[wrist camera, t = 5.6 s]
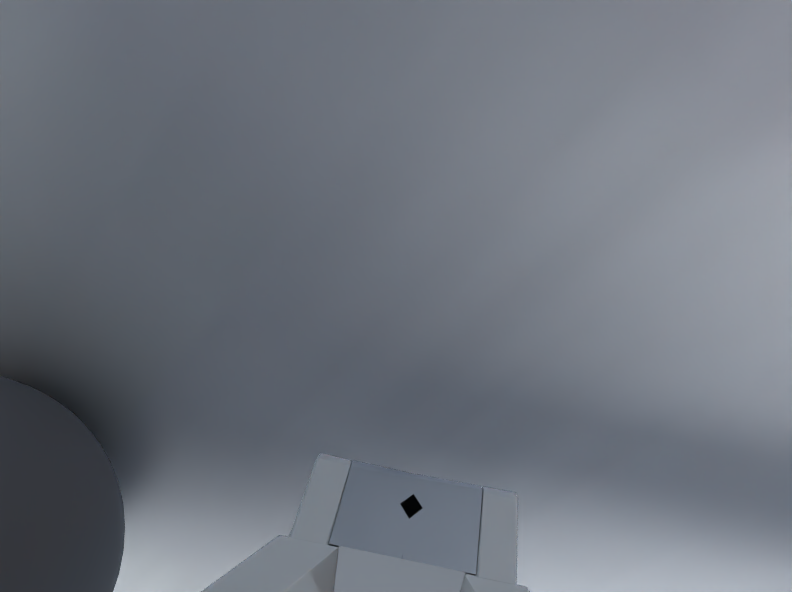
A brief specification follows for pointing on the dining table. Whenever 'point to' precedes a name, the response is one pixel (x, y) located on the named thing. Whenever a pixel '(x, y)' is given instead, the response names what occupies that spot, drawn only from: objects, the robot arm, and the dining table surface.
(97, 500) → the dark grey round ball
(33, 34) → the dining table surface
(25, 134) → the dining table surface
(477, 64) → the dining table surface
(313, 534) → the robot arm
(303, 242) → the dining table surface
